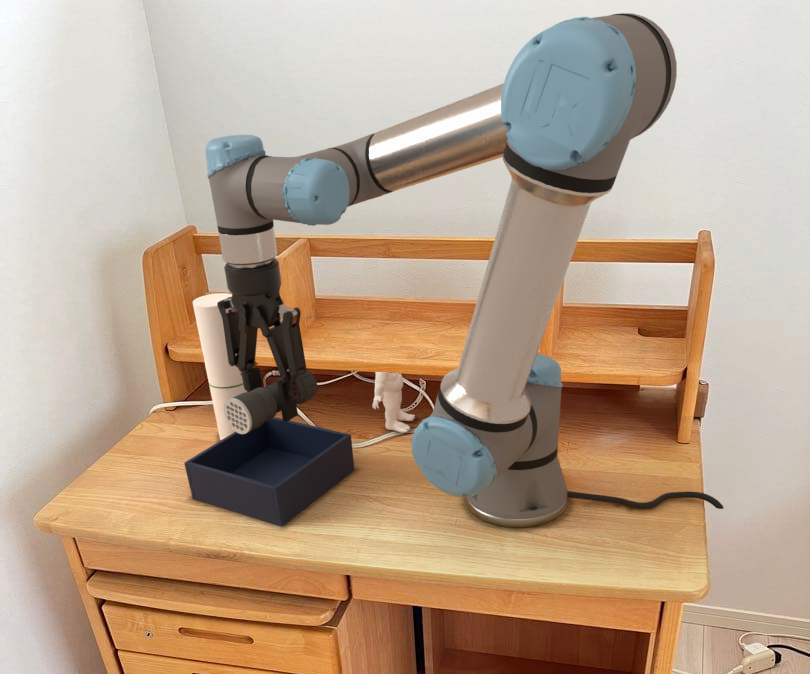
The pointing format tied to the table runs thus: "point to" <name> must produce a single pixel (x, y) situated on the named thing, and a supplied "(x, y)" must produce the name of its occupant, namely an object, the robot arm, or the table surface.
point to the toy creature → (391, 400)
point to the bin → (271, 469)
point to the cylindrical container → (217, 358)
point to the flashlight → (263, 404)
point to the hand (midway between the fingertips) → (274, 413)
